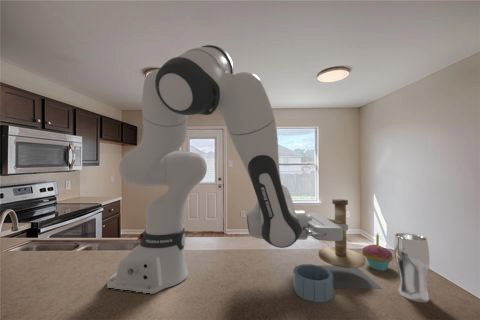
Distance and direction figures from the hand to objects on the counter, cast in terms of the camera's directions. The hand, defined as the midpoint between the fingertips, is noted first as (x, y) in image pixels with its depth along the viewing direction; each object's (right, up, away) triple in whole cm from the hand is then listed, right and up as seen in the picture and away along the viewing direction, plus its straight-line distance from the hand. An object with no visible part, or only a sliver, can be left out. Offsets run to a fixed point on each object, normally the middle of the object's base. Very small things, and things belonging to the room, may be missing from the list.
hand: (343, 224), depth 66 cm
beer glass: (+12, -15, -12) cm, 23 cm away
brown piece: (-1, -10, 0) cm, 10 cm away
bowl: (-13, -15, -9) cm, 22 cm away
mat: (-1, -15, -2) cm, 15 cm away
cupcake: (+14, -16, +4) cm, 21 cm away
